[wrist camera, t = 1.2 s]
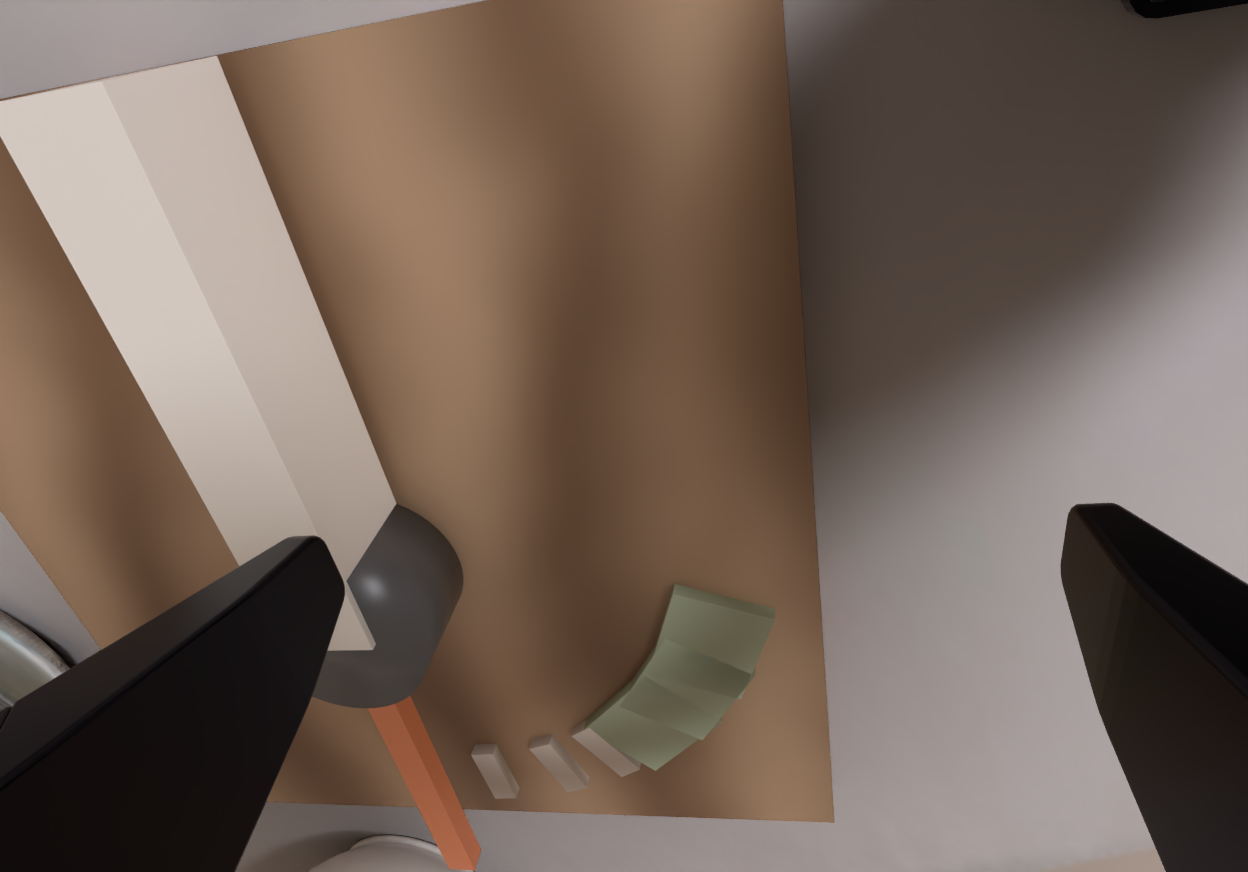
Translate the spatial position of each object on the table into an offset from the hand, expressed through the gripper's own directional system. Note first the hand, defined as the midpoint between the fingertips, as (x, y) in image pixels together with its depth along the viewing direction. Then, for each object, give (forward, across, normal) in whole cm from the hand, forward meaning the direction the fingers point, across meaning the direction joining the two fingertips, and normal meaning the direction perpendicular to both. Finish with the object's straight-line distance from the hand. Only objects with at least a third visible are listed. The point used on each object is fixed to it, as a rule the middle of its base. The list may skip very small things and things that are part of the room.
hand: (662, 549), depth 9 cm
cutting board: (+10, +10, +7) cm, 16 cm away
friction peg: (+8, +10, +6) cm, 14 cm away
